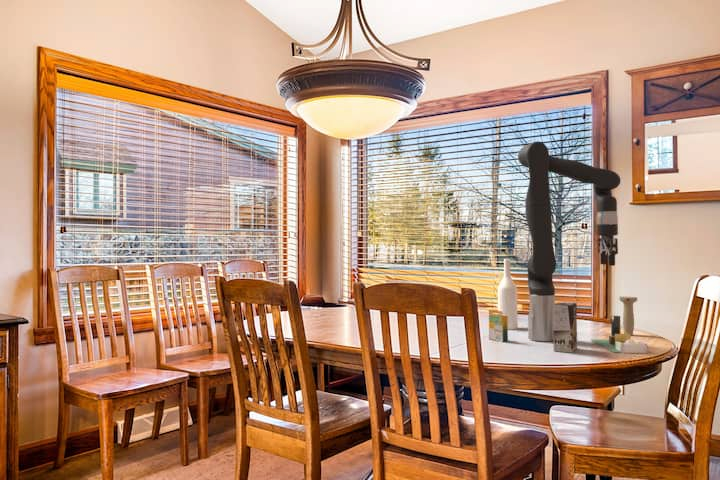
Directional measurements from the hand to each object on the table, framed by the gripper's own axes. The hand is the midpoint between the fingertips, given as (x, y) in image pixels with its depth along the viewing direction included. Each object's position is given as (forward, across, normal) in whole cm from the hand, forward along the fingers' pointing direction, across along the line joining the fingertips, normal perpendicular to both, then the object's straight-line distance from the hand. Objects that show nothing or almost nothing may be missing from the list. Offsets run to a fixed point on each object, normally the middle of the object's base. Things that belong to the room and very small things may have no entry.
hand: (607, 264), depth 211 cm
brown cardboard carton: (+28, +16, -2) cm, 32 cm away
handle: (+28, -4, +10) cm, 30 cm away
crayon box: (+28, +8, -44) cm, 52 cm away
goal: (+28, +27, -2) cm, 39 cm away
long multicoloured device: (+27, +17, -2) cm, 32 cm away
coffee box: (+28, +24, -24) cm, 44 cm away
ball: (+26, +26, -2) cm, 37 cm away
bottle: (+28, -20, -34) cm, 49 cm away
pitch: (+28, +18, -4) cm, 34 cm away
